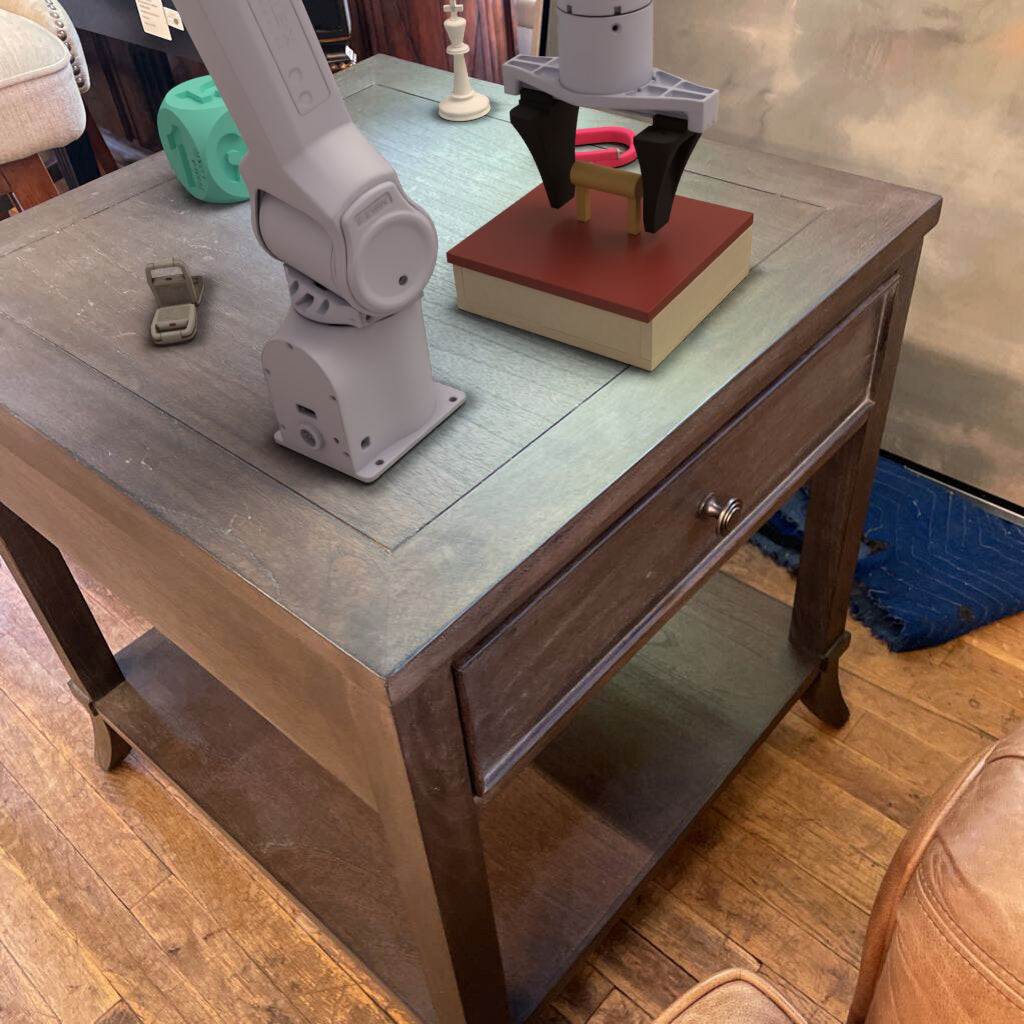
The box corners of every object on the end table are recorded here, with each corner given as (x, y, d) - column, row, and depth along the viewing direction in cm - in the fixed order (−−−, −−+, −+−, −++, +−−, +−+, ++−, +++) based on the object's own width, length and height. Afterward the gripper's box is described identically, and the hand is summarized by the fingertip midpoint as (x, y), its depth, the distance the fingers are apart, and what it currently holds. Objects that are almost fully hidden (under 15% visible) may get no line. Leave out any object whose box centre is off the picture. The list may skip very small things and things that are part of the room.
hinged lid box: (651, 372, 68) (652, 320, 65) (457, 308, 75) (451, 260, 73) (749, 273, 76) (753, 224, 73) (564, 224, 83) (562, 178, 80)
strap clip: (195, 342, 75) (178, 289, 72) (152, 348, 75) (133, 294, 72) (206, 280, 81) (190, 229, 78) (166, 285, 81) (149, 234, 78)
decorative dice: (173, 185, 94) (145, 94, 88) (252, 154, 97) (229, 64, 92) (218, 213, 89) (191, 119, 84) (299, 180, 93) (278, 87, 87)
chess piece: (484, 121, 99) (473, 7, 92) (432, 121, 100) (417, 8, 93) (495, 99, 102) (485, -12, 95) (445, 99, 103) (432, -11, 96)
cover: (648, 324, 65) (648, 251, 62) (446, 262, 72) (437, 195, 69) (753, 223, 73) (758, 154, 70) (562, 177, 80) (559, 113, 77)
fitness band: (545, 174, 90) (544, 157, 89) (542, 145, 94) (541, 128, 93) (642, 166, 89) (642, 149, 88) (635, 137, 94) (635, 120, 92)
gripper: (748, -6, 62) (734, 211, 71) (541, -33, 69) (552, 168, 78) (688, 35, 58) (681, 259, 67) (475, 2, 65) (495, 210, 74)
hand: (608, 214), depth 72 cm, fingers open, 7 cm apart
